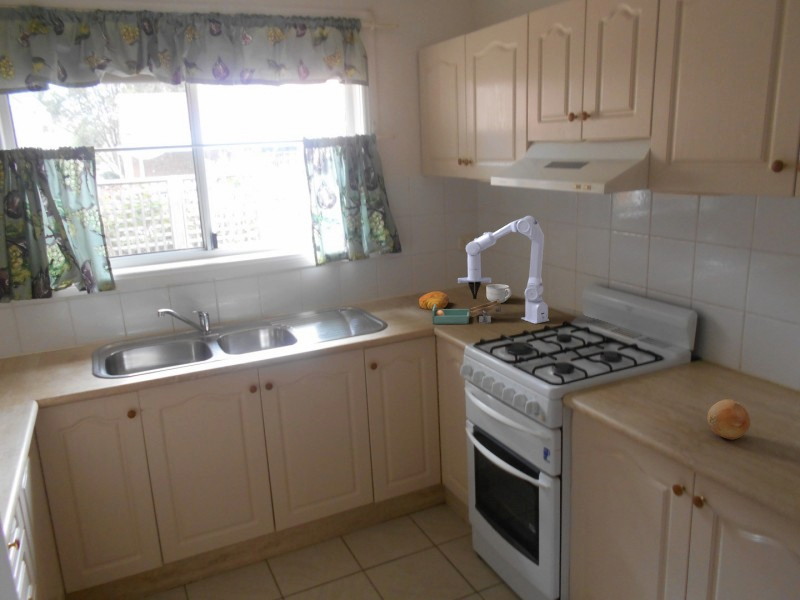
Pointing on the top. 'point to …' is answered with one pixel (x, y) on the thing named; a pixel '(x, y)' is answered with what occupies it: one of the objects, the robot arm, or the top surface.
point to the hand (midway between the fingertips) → (474, 298)
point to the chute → (486, 308)
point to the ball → (439, 313)
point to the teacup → (498, 292)
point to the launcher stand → (484, 318)
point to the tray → (451, 316)
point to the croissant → (434, 300)
